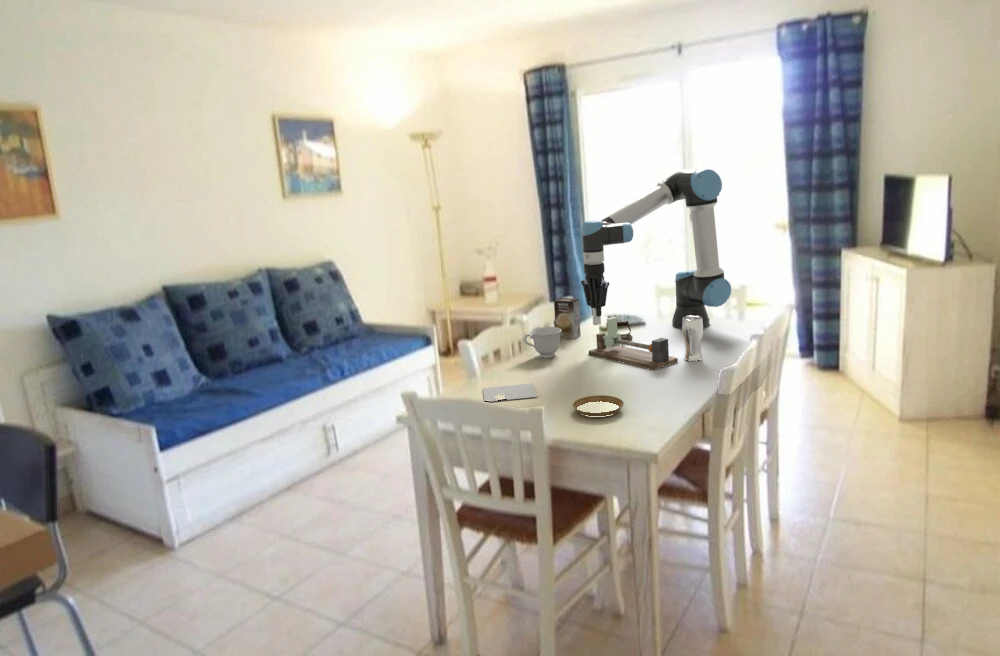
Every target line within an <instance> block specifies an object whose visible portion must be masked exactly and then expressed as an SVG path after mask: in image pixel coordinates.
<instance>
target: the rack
mask: <svg viewBox="0 0 1000 656" xmlns="http://www.w3.org/2000/svg"><path fill="white" fill-rule="evenodd" d="M605 334H607V333H606V332H599V333H596V337H595V338H596V348H593V349H590V350H588V355H589V356H592V355H594V356H593V357H597V356H598V358H601V357H602V358H601V359H605V358H606V359H605V360H609V359H611V361H614V360H615V361H614V362H618V361H620V362H619V363H622V362H624V363H623V364H626V363H628V364H627V365H630V364H632V366H635V365H636V367H639V366H640V367H639V368H643V367H645V368H644V369H647V368H649V369H648V370H652V369H654V370H653V371H656V370H655V369H657V370H659V369H658V368H660V369H662V368H661V367H663V366H665V367H667V366H666V365H668V366H670V365H669V364H671V365H673V364H672V363H674V362H677V361H678V362H679V359H678V357H675V356H670V354H669V339H668V338H664V337H659V338H657V339H653V340H651V343H650V344H646V343H640V342H636V341H626V340H621V339H617V338H614V342H615V343H619V344H621V345H619V346H615V347H608V346H605V339H604V336H605ZM623 345H624V346H623ZM625 345H626V346H625ZM628 346H629V347H628ZM632 347H634V348H632ZM637 348H638V349H637ZM639 348H640V349H639ZM642 349H644V350H642ZM647 350H648V351H647ZM678 362H677V363H678ZM674 364H675V363H674ZM663 368H664V367H663Z"/></svg>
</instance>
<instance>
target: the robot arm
mask: <svg viewBox="0 0 1000 656" xmlns="http://www.w3.org/2000/svg"><path fill="white" fill-rule="evenodd" d="M722 189H723V184H722V179H721V176H720V174H718V173H717V172H716V171H715V170H714V169H710V168H705V167H701V168H700V167H699V168H688V169H687V168H685V169H682V170H679V171H677V172H675V173H674V174H673V173H672V175H670V176H668V177H667V178H665V179H663V180H661V181H660V182H658V183H657V185H656V187H655V188H653V189H652V190H650V191H648V192H647V193H645V194H643V195H641V196H640V197H638V198H637V199H635V200H633V201H632V202H630V203H628V204H627V205H625V206H623V207H622V208H620V209H618V210H617V211H615V212H613V213H612V214H610V215H608V216H606V217H605V218H603V219H601V220H586V221H583V223H582V225H581V236H582V237H581V238H582V253H583V263H584V264H583V271H584V274H585V278H584V279H583V280H580V284H581V285H582V288H583V293H584V298H585V303H586V305H587V306H589V307H590V310H591V311H590V312H591V316H592V325H593V326H600V325H601V324H602V308H603V307H605V306H606V303H607V295H608V289H609V286H610V282H609V281H606V280H605V277H604V273H605V271H606V270H605V263H604V262H605V255H604V253H605V251H604V250H605V249H604V246H610V245H619V244H622V245H623V244H627V243H630V242H632V241H633V238H634V229H633V228H634V227H633V226H632V225H633V224H635V223H637V222H638V221H640V220H642V219H643V218H644V217H647V216H648V215H650V214H651V213H653V212H654V211H657V210H658V209H659V208H662V207H663V206H665V205H672V204H673V203H675V202H677V201H681V200H684V201H685V205H686V206H685V207H686V208H688V209H689V210H690V215H691V224H692V225H691V226H692V235H693V246H694V255H695V266H696V269H691V270H683V271H679V272H677V273H676V274H675V278H674V279H675V280H674V283H675V302H676V305H675V306H676V307H675V310H674V313H673V316H672V322H671V323H672V324H671V325H672V326H673V327H674V328H677V329H678V328H679V329H682V324H683V317H686V316H700V317H702V322H703V328H706V327H709V325H710V317H709V316H708V312H707V309H706V307H713V308H717V307H718V308H719V307H721V306H723V305H724V304H726V303H727V301H728V300H729V299H730V297H731V295H732V284H731V283H730V282H729V281H728V279H726V278H725V271H724V269H722V268H721V267H720V261H719V249H718V242H717V241H718V240H717V229H716V217H715V206H716V205H717V203H718V196H720V194H721V191H722Z"/></svg>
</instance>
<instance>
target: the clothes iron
mask: <svg viewBox="0 0 1000 656" xmlns="http://www.w3.org/2000/svg"><path fill="white" fill-rule="evenodd" d="M605 324H606V327H607V322H606V323H605ZM617 327H627V328H628V330H629V332H627V333H623V334H621V333H620V335H621V340H626V341H631V342H633V335H632V334H631V333H632V329H631V327H630V324H629V321H628V320H626V321H617Z"/></svg>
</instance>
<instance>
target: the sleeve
mask: <svg viewBox="0 0 1000 656" xmlns="http://www.w3.org/2000/svg"><path fill="white" fill-rule="evenodd" d="M617 322H618V318H617V317H616V316H613V317H609V318H606V323H607V326H606V330H607V333H606V334H605V336H604V339H605V346H608V347H615V346H622V344H619V343H615V342H614V338H617V339H621V335H620V334H621V333H620V332H618V326H617Z"/></svg>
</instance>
